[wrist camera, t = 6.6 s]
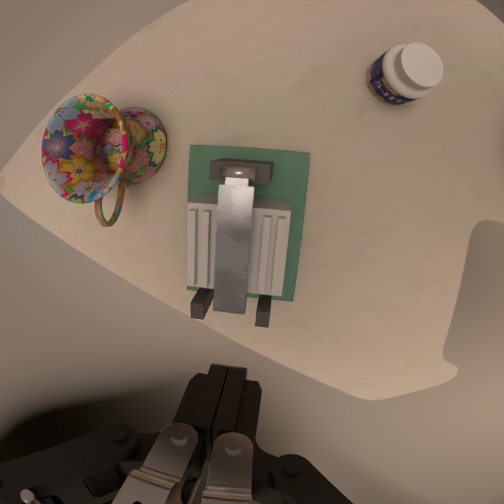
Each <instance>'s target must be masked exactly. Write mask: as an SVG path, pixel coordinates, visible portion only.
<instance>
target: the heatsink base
mask: <svg viewBox="0 0 504 504" xmlns="http://www.w3.org/2000/svg"><path fill="white" fill-rule="evenodd" d="M309 159H310V153H302V152H293V151H282V150H271V149H258V148H243V147H226V146H201V145H190V156H189V179H188V210H187V290H193V291H197V293H196V294H195V296H194V298H193V299H192V301H191V318H195V319H202V320H203V319H204V317H205V315H206V313H207V311H208V308H209V306H210V304H211V302H212V300H213V298H214V273H215V248H216V227H217V208H218V191H219V184H225V180H226V178H220V177H219V170H220V166H236V167H250V168H256V179H255V180H249V186H255V192H254V205H253V218H252V232H251V245H250V258H249V271H248V284H247V297H252V298H259V300H258V306H257V311H256V322H255V326H258V327H268V326H269V317H270V308H271V300H281V301H291V302H293V297H294V290H295V283H296V275H297V268H298V260H299V252H300V244H301V235H302V227H303V218H304V209H305V199H306V190H307V180H308V169H309Z"/></svg>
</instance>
